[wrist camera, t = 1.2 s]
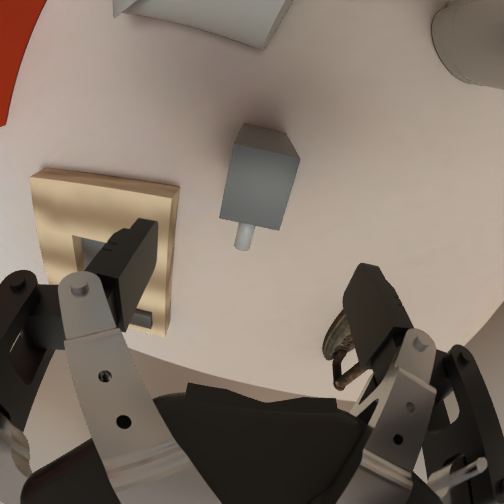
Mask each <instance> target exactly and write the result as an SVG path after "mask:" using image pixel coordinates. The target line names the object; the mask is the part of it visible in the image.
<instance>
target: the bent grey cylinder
mask: <svg viewBox="0 0 504 504" xmlns="http://www.w3.org/2000/svg"><path fill="white" fill-rule="evenodd" d="M292 1H293V0H113V16H114V18H115V17H117V16H118V15H119V14H121V13H128V14H135V15H141V16H147V17H152V18H157V19H162V20H167V21H171V22H175V23H180V24H184V25H187V26H191V27H195V28H198V29H202V30H205V31H209V32H212V33H215V34H218V35H221V36H224V37H227V38H230V39H233V40H236V41H239V42H241V43H244V44H247V45H249V46H252V47H254V48H257V49H259V50H263V49H264V48H265V47H266V45H267V44H268V42H269V41H270V39H271V37H272V36H273V34H274V32H275V31H276V29H277V27H278V26H279V24H280V22H281V20H282V19H283V17H284V15H285V13H286V12H287V10H288V8H289V6H290V5H291V3H292Z"/></svg>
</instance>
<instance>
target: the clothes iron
mask: <svg viewBox="0 0 504 504" xmlns="http://www.w3.org/2000/svg"><path fill="white" fill-rule="evenodd" d="M354 348H355V345H354V342H353V338H352V335H351V331H350V328H349V325H348V321H347V318H346V314H345V311H344V309H343V310H342V311H341V313H340V314H339V315H338V316H337V318H336V319H335V321H334V322H333V324H332V325H331V327H330V328H329V330H328V332H327V334H326V336H325V339H324V342H323V354H324V357H325V358H326V360H332V359H334V360H333V365H332V366H333V379H334V382H333V384H334V387H335V388H336V389H337V390H339V391H342V390H344V388H345V386H346V385H348V384H349V383H350V382H352V381H353V380H354V379H356V378H357V377H358V376H360V375H361V374H362V373H364V372H365V371H366V370H368V369H361V368H360V364H359V362H358V363H357V364H355V365H354V366H353V367H352V368H351V369H349V370H348V371H347V372H345V373H344V374H343V375H342V373H341V362H342V360H343V358H344V357H345V356H346V353H347V352H349V351H351V350H352V349H354Z"/></svg>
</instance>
